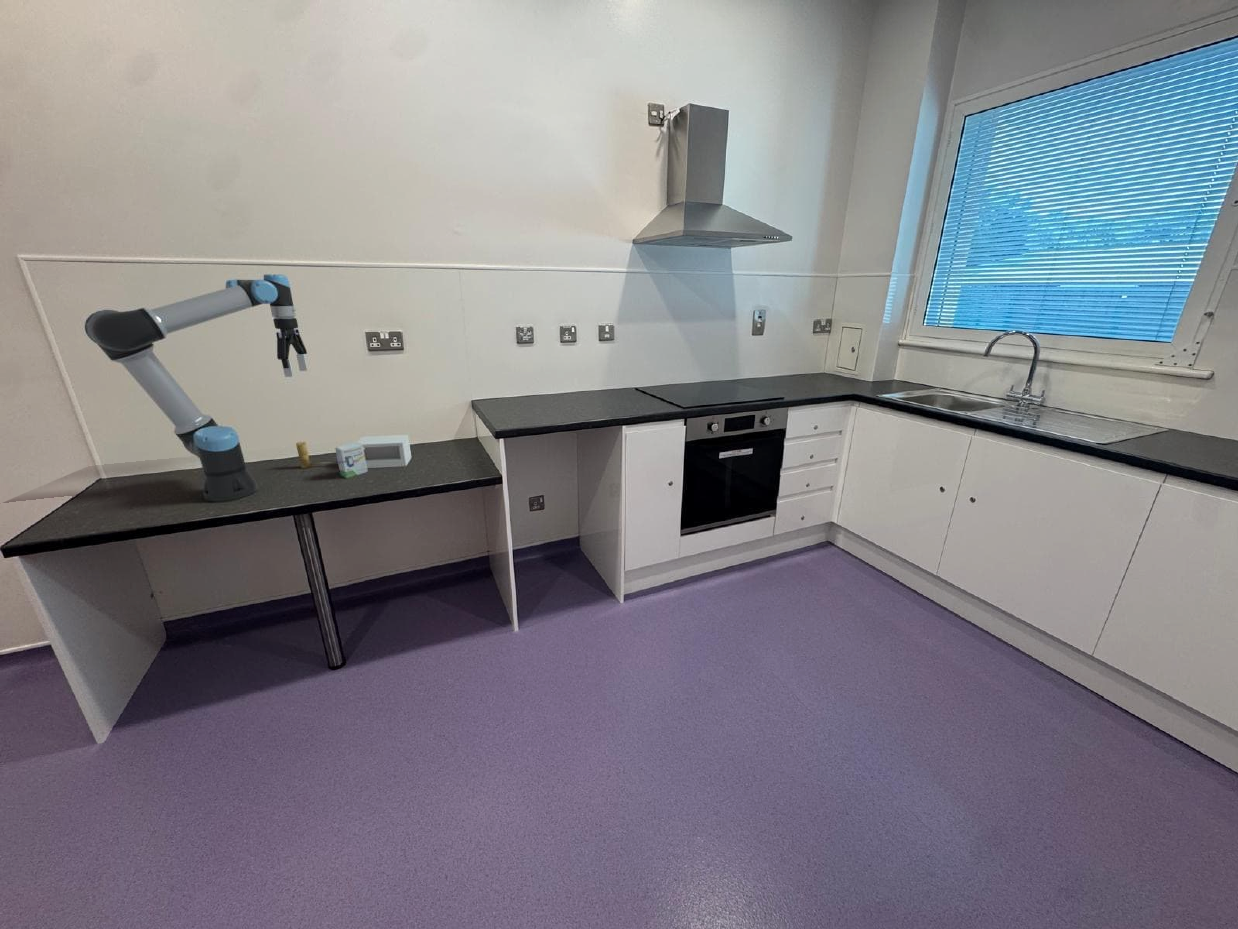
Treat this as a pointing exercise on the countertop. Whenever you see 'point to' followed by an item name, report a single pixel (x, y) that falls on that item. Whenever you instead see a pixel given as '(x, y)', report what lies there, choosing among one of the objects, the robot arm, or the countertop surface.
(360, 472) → the ink box
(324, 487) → the countertop surface
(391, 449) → the box
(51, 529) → the countertop surface
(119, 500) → the countertop surface
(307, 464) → the corded block
